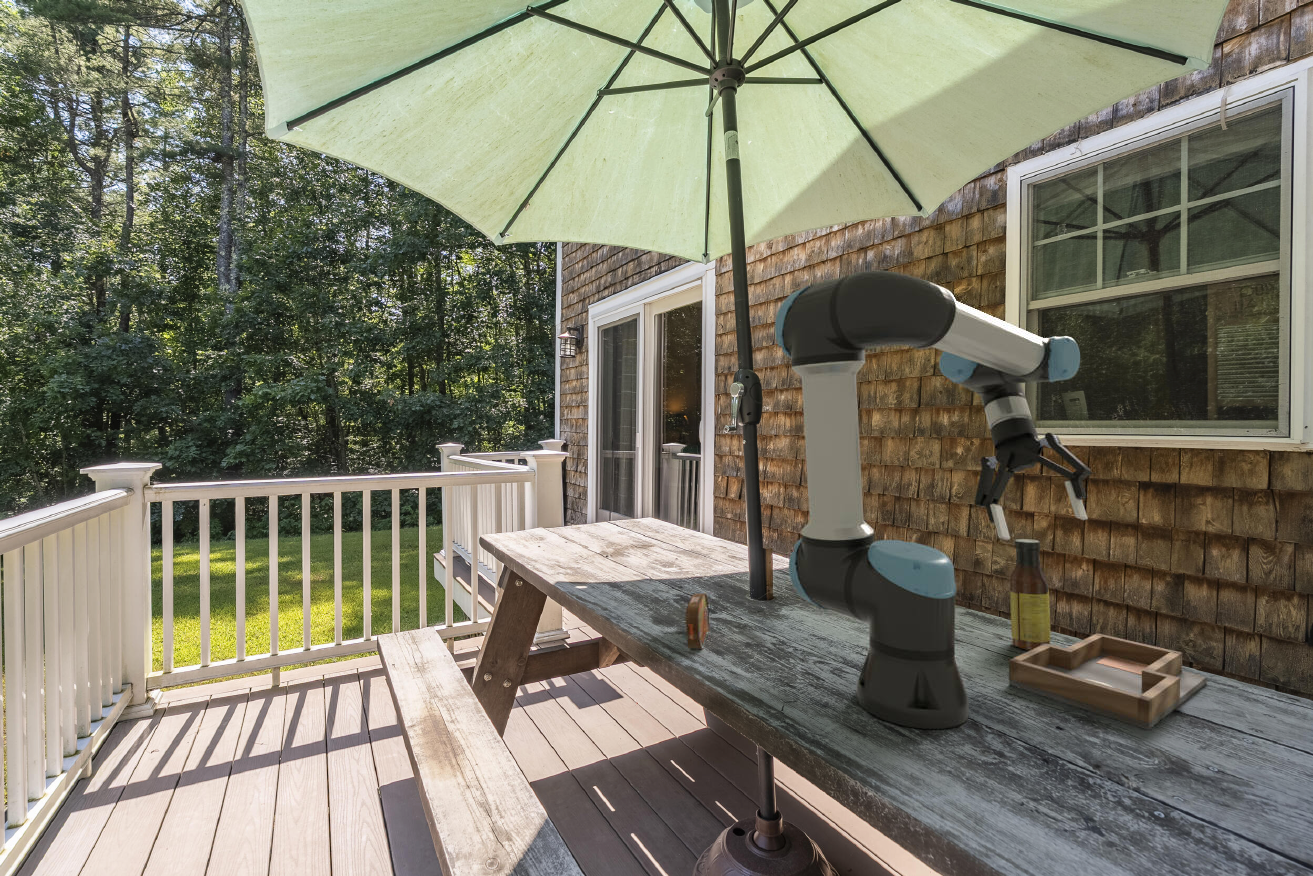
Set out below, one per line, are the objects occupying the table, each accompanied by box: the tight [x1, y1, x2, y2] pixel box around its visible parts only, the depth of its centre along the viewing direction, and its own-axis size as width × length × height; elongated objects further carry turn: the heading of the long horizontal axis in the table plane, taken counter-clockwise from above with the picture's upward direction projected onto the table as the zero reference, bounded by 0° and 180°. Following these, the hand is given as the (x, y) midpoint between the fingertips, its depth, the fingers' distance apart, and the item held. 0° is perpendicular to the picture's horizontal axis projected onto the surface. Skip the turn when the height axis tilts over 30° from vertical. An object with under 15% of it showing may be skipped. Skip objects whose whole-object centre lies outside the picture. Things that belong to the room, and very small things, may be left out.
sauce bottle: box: [1009, 538, 1052, 652], centre depth 114 cm, size 6×6×20 cm
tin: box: [685, 592, 710, 650], centre depth 118 cm, size 15×3×8 cm, turn 168°
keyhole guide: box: [1008, 632, 1208, 731], centre depth 97 cm, size 26×18×4 cm
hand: (1041, 528), depth 110 cm, fingers open, 13 cm apart
